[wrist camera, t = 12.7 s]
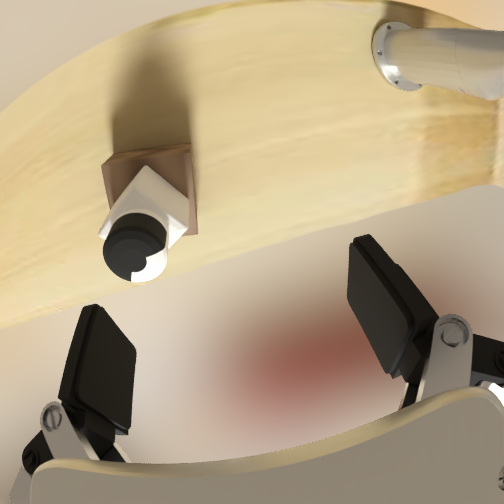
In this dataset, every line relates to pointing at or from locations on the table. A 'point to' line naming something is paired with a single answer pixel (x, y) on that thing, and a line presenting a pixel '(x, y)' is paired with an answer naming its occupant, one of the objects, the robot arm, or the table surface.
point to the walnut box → (164, 164)
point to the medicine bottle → (143, 227)
